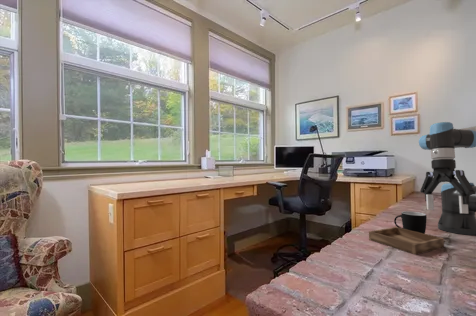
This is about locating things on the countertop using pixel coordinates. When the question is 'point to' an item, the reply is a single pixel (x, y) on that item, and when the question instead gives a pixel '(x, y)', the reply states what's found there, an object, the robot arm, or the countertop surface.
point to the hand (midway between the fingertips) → (446, 211)
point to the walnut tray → (406, 240)
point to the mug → (413, 221)
